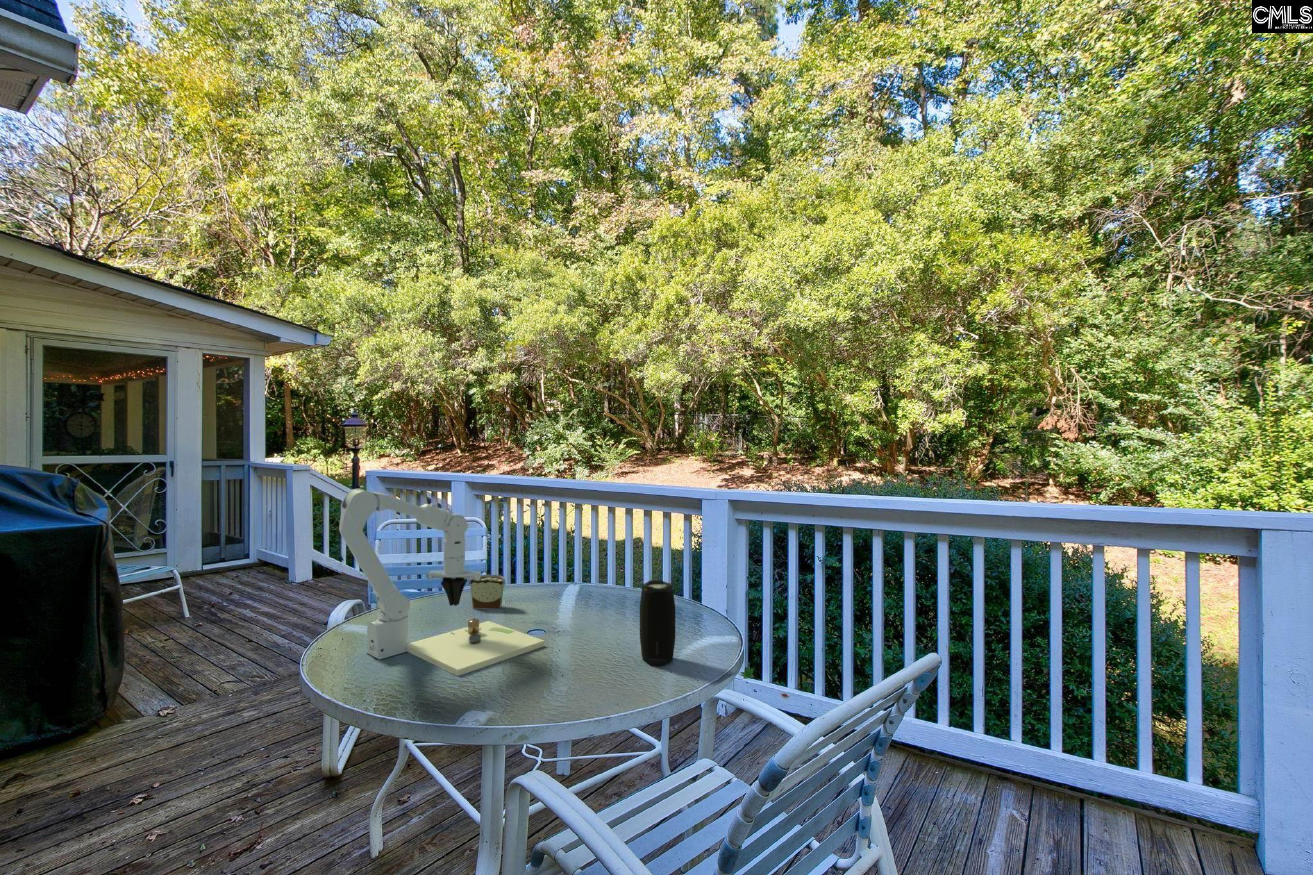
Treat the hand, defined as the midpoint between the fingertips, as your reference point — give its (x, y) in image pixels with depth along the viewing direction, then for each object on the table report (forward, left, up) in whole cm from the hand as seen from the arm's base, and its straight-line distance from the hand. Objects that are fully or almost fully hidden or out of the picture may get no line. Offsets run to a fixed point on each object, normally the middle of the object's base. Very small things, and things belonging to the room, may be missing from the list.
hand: (454, 604), depth 167 cm
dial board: (-1, -11, -9) cm, 15 cm away
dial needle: (+2, -7, -8) cm, 11 cm away
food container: (+24, +19, -10) cm, 32 cm away
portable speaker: (+24, -54, -10) cm, 60 cm away
